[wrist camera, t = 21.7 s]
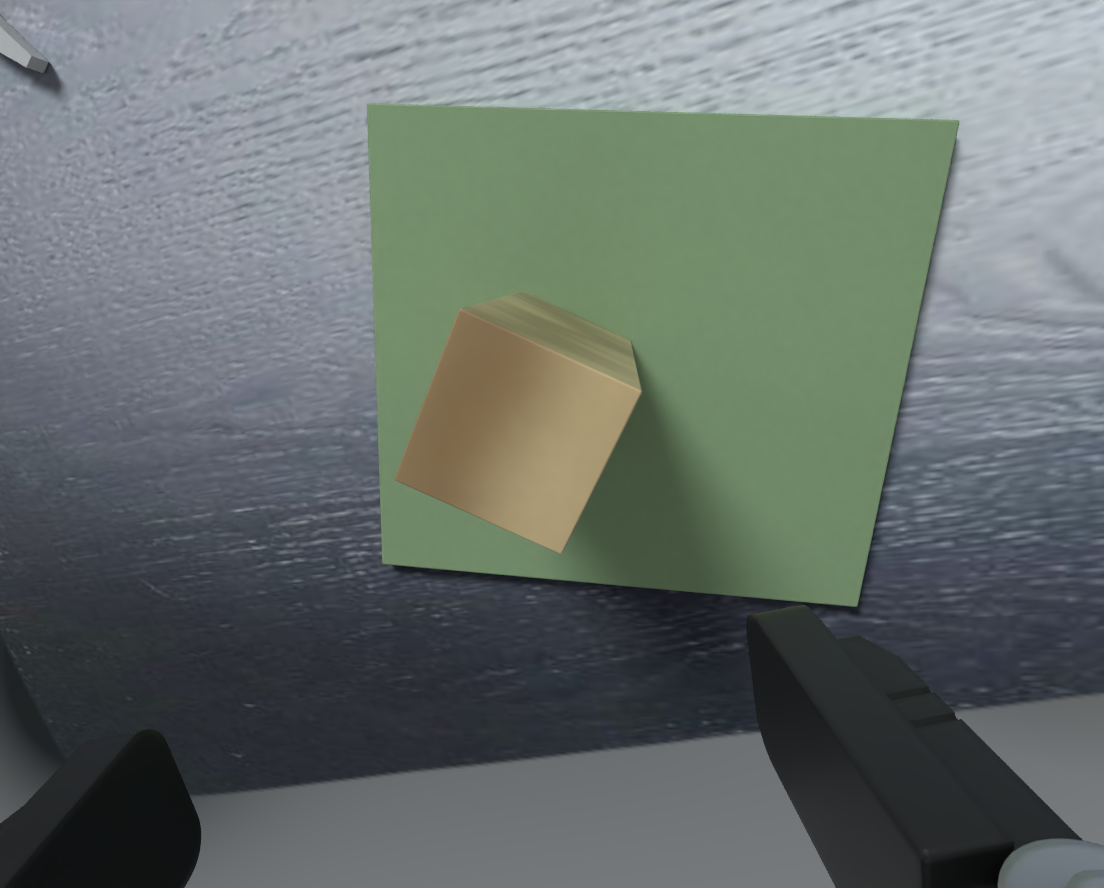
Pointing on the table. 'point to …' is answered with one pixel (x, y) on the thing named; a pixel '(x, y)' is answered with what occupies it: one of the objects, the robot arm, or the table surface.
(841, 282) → the mat
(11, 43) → the pliers
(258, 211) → the table surface
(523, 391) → the block
